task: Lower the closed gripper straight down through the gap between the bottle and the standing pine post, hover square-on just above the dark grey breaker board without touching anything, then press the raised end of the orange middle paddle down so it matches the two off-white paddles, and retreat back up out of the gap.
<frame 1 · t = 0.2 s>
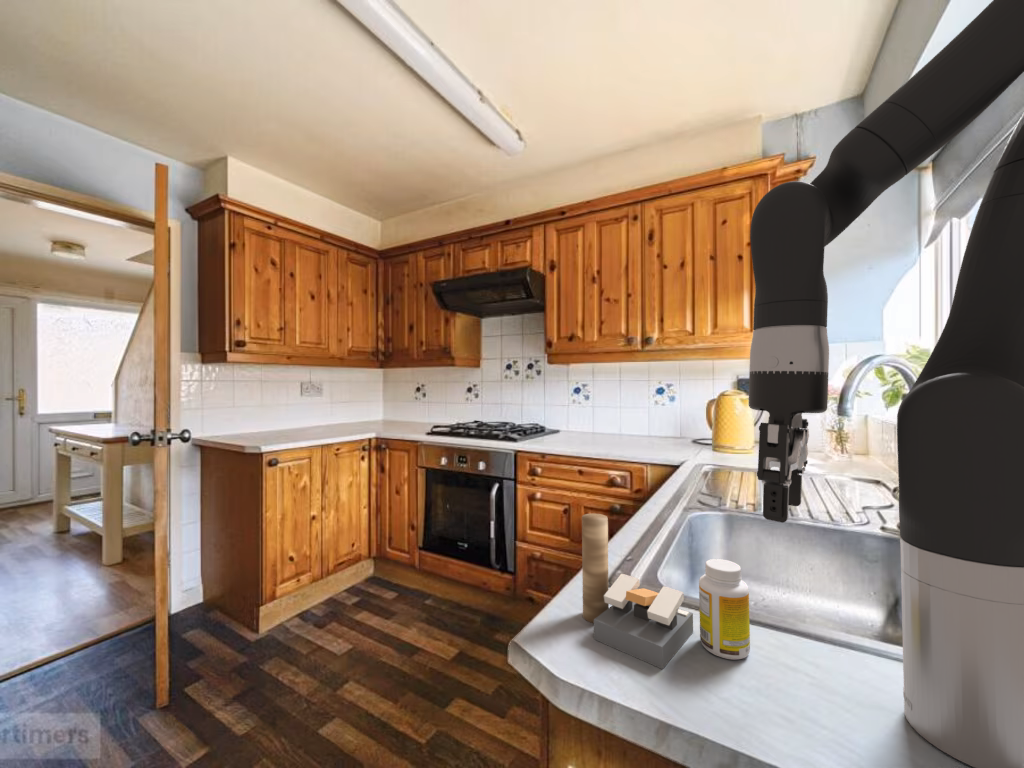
hand: (783, 511, 49), 18 cm above the worktop, tool pointing down, fingers open, 8 cm apart
paddle middle: (643, 598, 56), point 5 cm above the worktop, hinge at 15.0°
paddle near bottle: (666, 606, 54), point 5 cm above the worktop, hinge at -15.0°
supplement bottle: (724, 649, 53), on the worktop
breaker board: (644, 635, 56), on the worktop
pine post: (595, 616, 60), on the worktop
paddle near post: (622, 591, 58), point 5 cm above the worktop, hinge at -15.0°
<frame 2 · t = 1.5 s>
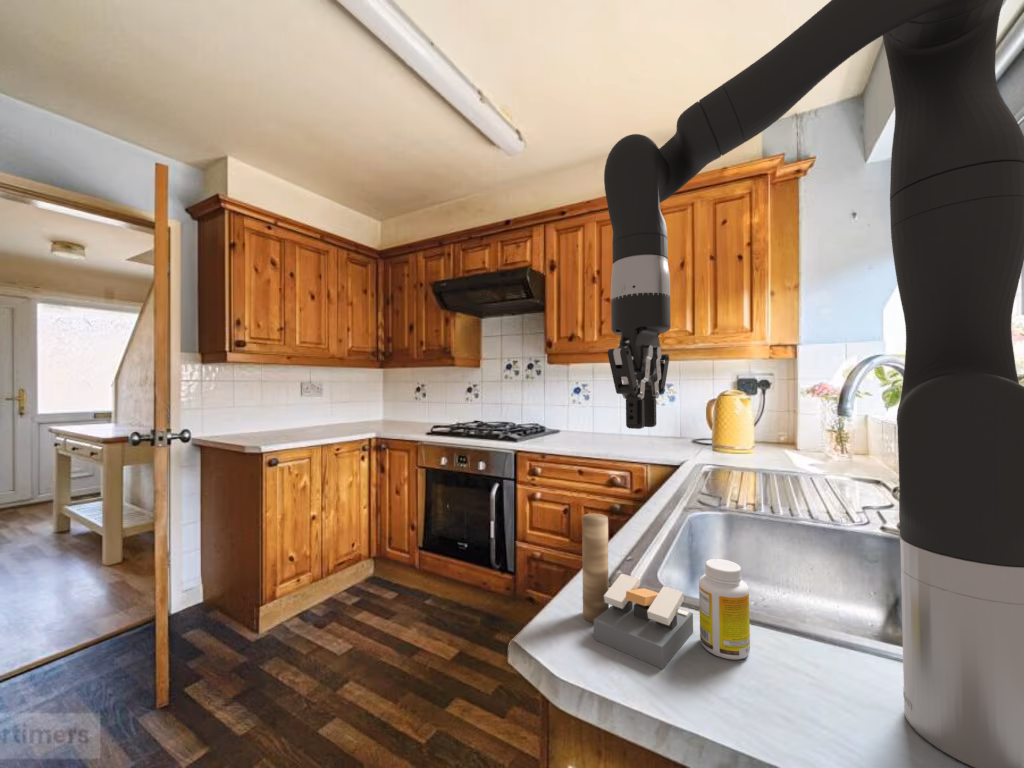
hand: (641, 426, 56), 27 cm above the worktop, tool pointing down, fingers open, 3 cm apart
nothing on the worktop moved.
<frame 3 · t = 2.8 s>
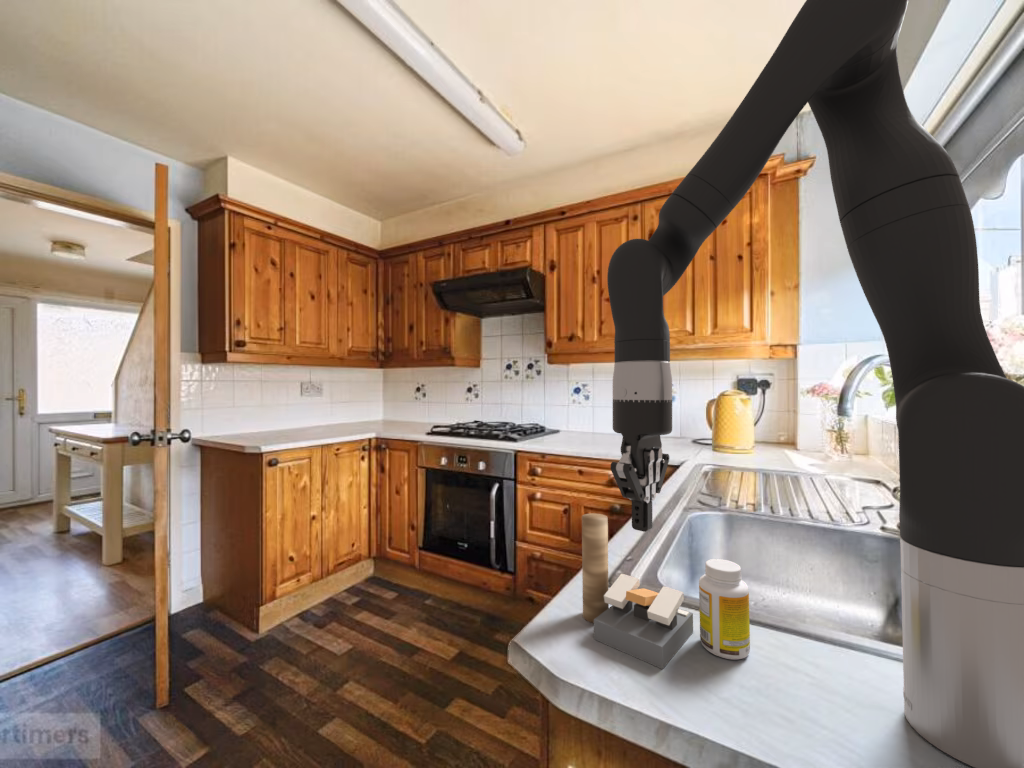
hand: (642, 529, 56), 14 cm above the worktop, tool pointing down, fingers closed
nothing on the worktop moved.
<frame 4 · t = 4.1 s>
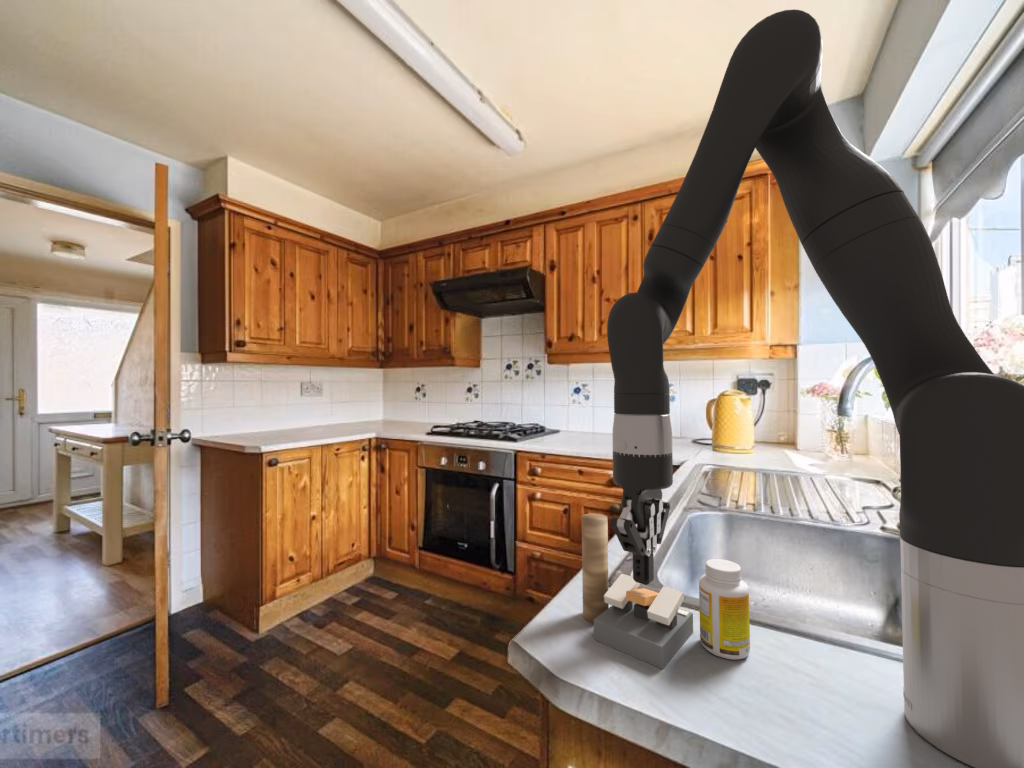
hand: (643, 581, 56), 7 cm above the worktop, tool pointing down, fingers closed
nothing on the worktop moved.
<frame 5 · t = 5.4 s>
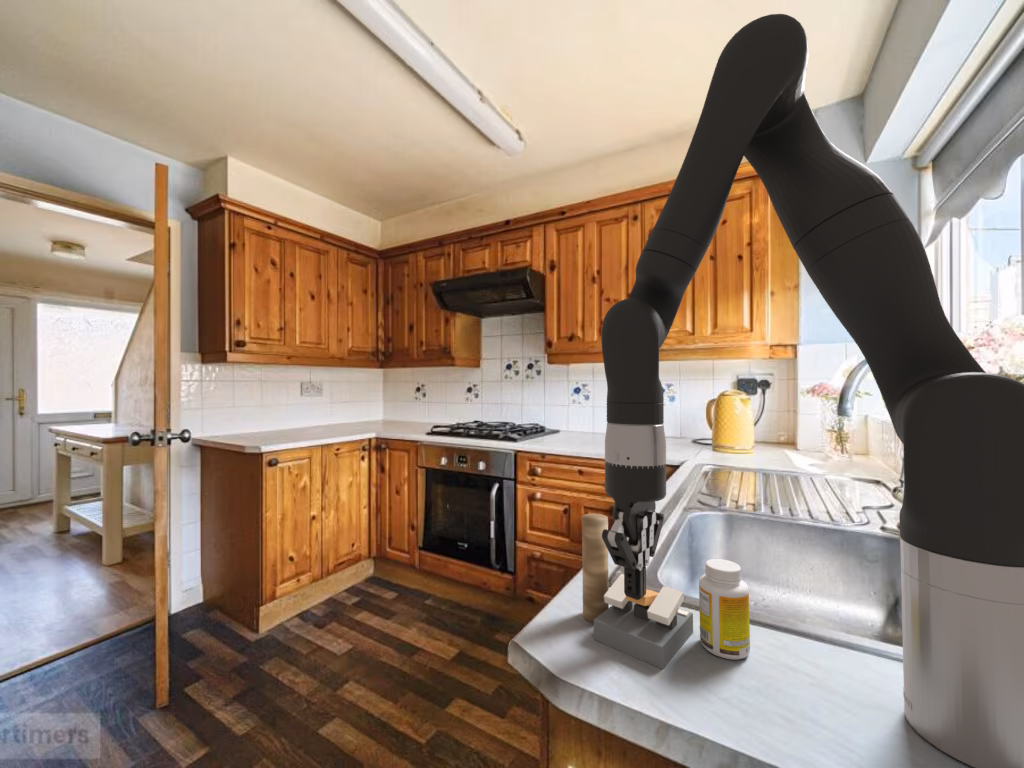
hand: (635, 595, 54), 6 cm above the worktop, tool pointing down, fingers closed
paddle middle: (643, 598, 56), point 5 cm above the worktop, hinge at 14.8°, touching gripper
everything else where it was.
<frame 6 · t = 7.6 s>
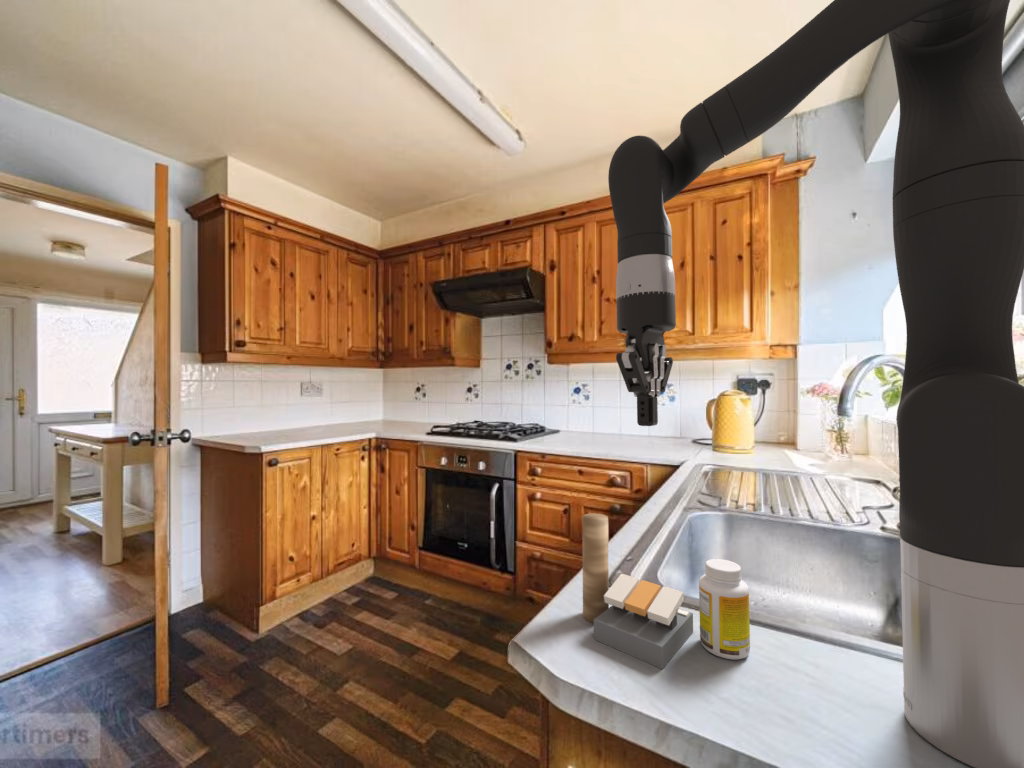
hand: (647, 425, 57), 27 cm above the worktop, tool pointing down, fingers closed
paddle middle: (643, 598, 56), point 5 cm above the worktop, hinge at -13.8°
everything else where it was.
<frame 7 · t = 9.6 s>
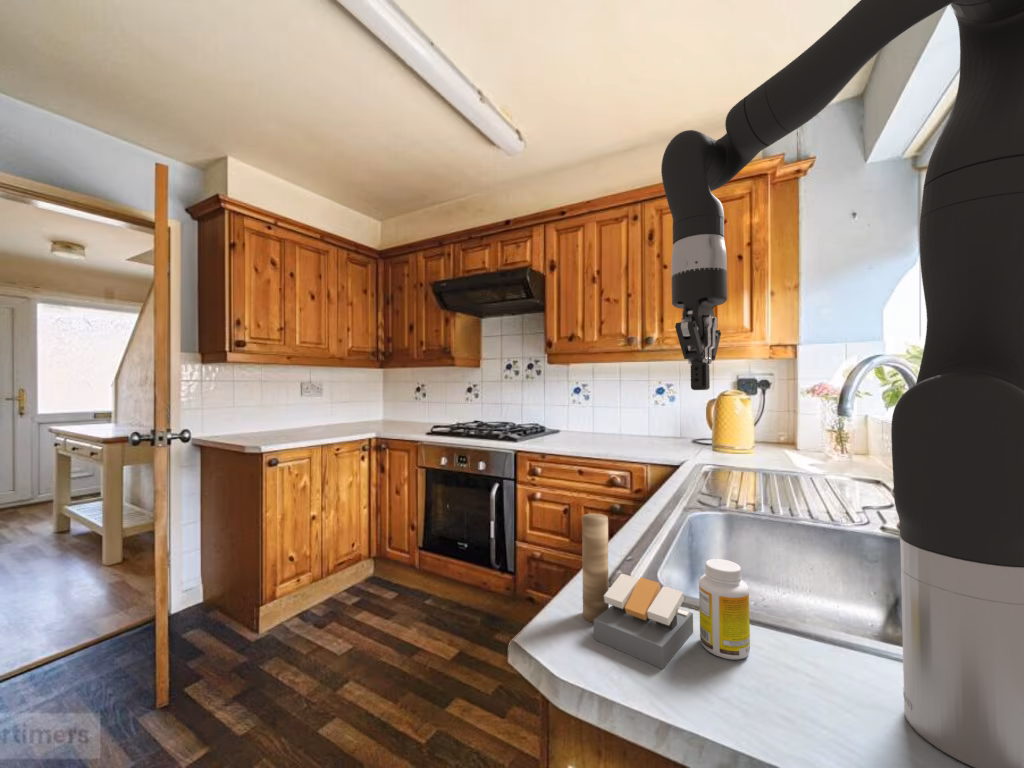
hand: (700, 389, 63), 32 cm above the worktop, tool pointing down, fingers closed
paddle middle: (643, 599, 56), point 5 cm above the worktop, hinge at -26.9°
everything else where it was.
at the end: paddle middle at -27° (first picture: +15°); pine post moved 0.0 cm from its start; supplement bottle moved 0.2 cm from its start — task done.
